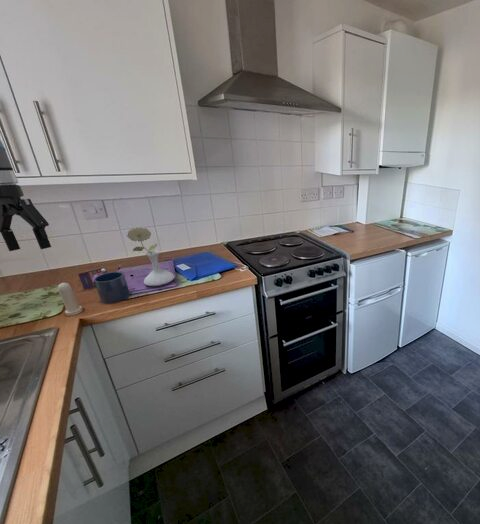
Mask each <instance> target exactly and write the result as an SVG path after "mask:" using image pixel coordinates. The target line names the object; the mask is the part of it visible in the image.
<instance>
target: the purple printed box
mask: <svg viewBox="0 0 480 524" xmlns="http://www.w3.org/2000/svg"><path fill="white" fill-rule="evenodd" d="M101 272H102V273H101ZM90 273H92V274H93V276H92V277H91V275H90ZM106 273H108V270H107V268H106V267H101V268H98V269H97V268H96V269H92V270H89V271H84V272H80V273H78V274H77V275H78V277H79V280H80V284H81V285H82V288H83V290H89V289H92V288H95V287H96V286H95V283H94V279H95V278H96V277H97V276H100V275H102V274H106Z"/></svg>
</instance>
